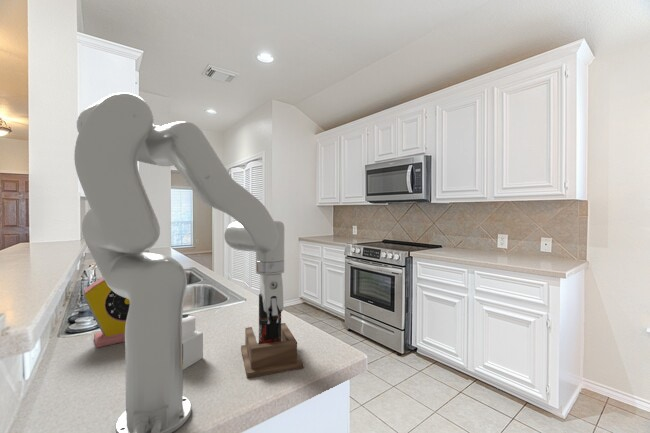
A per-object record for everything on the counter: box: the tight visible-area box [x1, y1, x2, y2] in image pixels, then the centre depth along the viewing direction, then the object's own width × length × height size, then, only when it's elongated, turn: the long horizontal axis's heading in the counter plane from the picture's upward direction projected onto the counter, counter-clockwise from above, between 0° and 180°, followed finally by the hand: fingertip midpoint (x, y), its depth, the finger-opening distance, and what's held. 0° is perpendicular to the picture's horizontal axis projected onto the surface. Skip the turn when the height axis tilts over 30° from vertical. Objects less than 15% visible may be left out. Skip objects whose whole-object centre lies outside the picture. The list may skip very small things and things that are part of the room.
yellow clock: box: [82, 276, 130, 349], centre depth 98 cm, size 22×9×22 cm, turn 130°
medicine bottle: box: [182, 313, 204, 371], centre depth 82 cm, size 7×7×12 cm
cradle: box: [240, 322, 304, 379], centre depth 84 cm, size 16×14×6 cm
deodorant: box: [258, 293, 282, 344], centre depth 83 cm, size 6×6×15 cm
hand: (269, 332), depth 83 cm, fingers closed on deodorant, 5 cm apart
